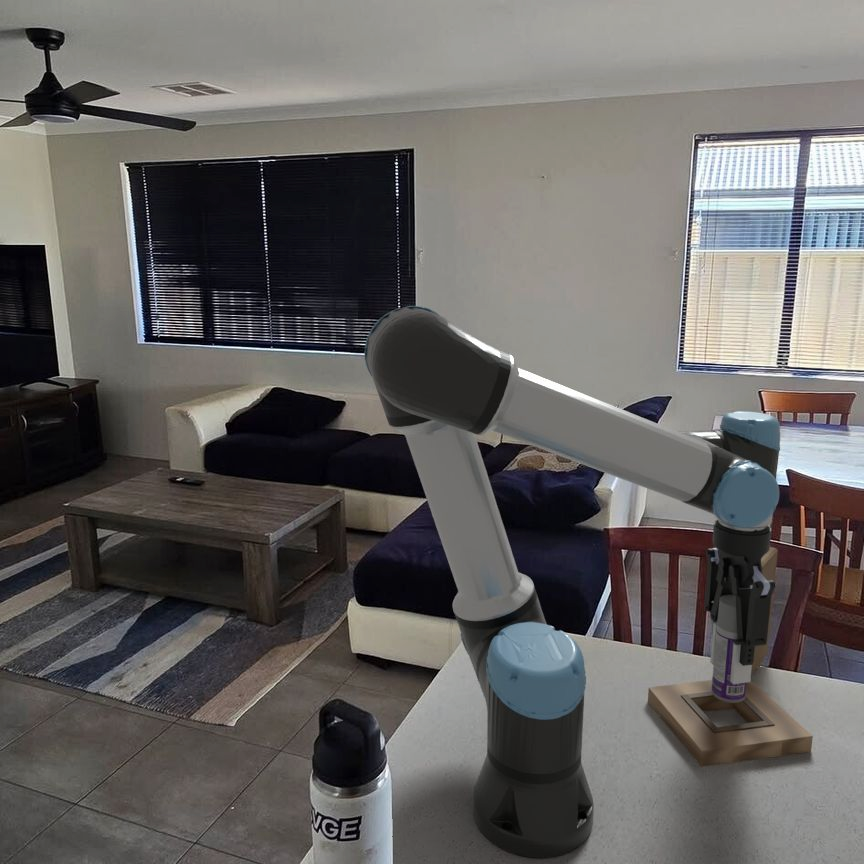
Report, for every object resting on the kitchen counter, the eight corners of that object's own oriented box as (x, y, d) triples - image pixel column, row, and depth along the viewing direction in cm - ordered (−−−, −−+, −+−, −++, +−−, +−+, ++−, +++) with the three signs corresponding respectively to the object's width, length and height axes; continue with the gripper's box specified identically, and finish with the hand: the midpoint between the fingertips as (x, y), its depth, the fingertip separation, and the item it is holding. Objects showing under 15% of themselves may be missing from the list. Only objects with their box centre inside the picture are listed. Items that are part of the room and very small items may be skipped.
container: (747, 691, 112) (756, 598, 109) (741, 706, 109) (750, 610, 105) (715, 682, 115) (722, 591, 111) (708, 696, 111) (715, 603, 108)
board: (700, 766, 104) (702, 749, 103) (647, 701, 119) (648, 686, 118) (810, 751, 107) (812, 734, 106) (745, 689, 122) (746, 674, 121)
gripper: (808, 542, 98) (791, 702, 103) (731, 501, 115) (720, 640, 120) (755, 547, 96) (741, 709, 102) (686, 504, 113) (676, 644, 119)
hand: (729, 671), depth 111 cm, fingers closed on container, 5 cm apart
